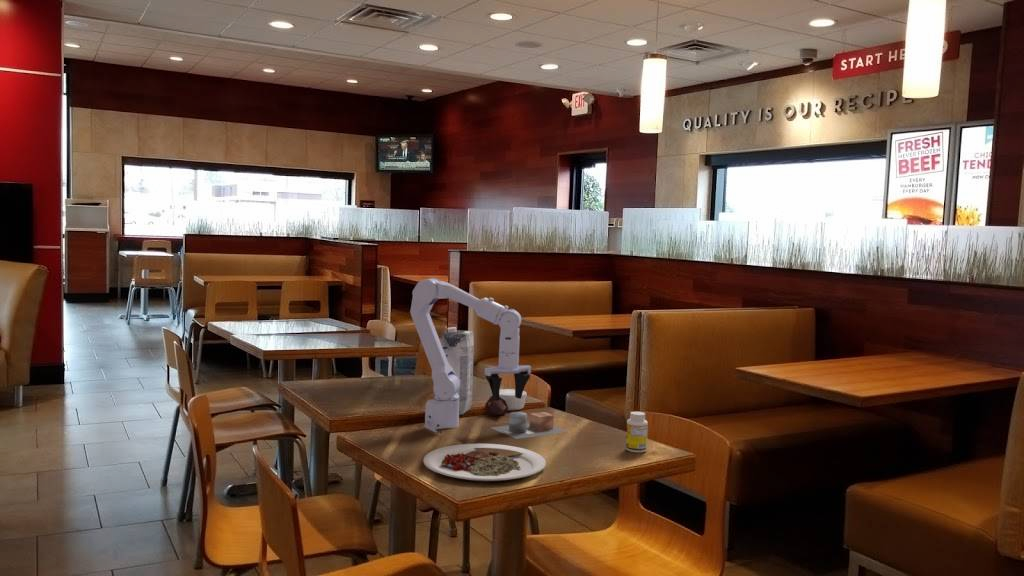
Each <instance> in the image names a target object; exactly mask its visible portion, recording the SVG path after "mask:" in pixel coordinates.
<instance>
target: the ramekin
mask: <svg viewBox="0 0 1024 576" xmlns="http://www.w3.org/2000/svg"><path fill="white" fill-rule="evenodd" d="M527 395H528V393H527V391H525V390H523V393H522V396H521V399H519V398H516V397H515V388H506V389H505V388H504V389H502V388H500V390H499V397H501V398H502V399H504V400H505V401H506V403H507V405H508V410H507V411H519V410H522V409H523V408H524V407H525V402H526V397H527Z"/></svg>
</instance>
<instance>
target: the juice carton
mask: <svg viewBox="0 0 1024 576" xmlns="http://www.w3.org/2000/svg"><path fill="white" fill-rule="evenodd" d="M440 343H441V345H442V348H443V350H444V353H445V356H446V358H447V361H448V363H449V364H450V365H451V367H452V368H453V370H454V372H455V374H456V375H457V376H458V377H459V378H460V380H461V387H460V389H459V391H458V392H457V393H458V395H459V397H460V398H459V416H461V415H465V413H466V412H468V411H470V410H471V406H472V402H473V401H472V400H473V386H474V385H473V381H474V380H473V377H474V351H475V350H474V346H475V343H474V331H472V330H463V329H462V330H460V329H457V327H456V326H451V327H447V331H446V332H442V333H441V341H440ZM469 409H470V410H469Z"/></svg>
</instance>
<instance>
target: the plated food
mask: <svg viewBox="0 0 1024 576" xmlns="http://www.w3.org/2000/svg"><path fill="white" fill-rule="evenodd" d="M479 448H481V449H483V448H484V449H498V450H499V449H500V450H507V451H510V452H511V451H513V452H517V453H519V454H511V455H505V454H503V455H502V454H500V453H499V452H498V451H497V450H490V451H489V454H488V453H485V452H483V451H481V450H479ZM422 462H423V464H424V466H425V467H426V468H427V469H429V470H430V471H433V472H434V473H437V474H440V475H443V476H447V477H451V478H456V479H461V480H466V481H476V482H499V481H509V480H516V479H521V478H526V477H528V476H533V475H536V474H538V473H540V472H541V471H543V470H544V469H545V468H546V466H547V462H546V459H545V458H544V456H542V455H541V454H539V453H538V452H535V451H533V450H530V449H526V448H524V447H519V446H512V445H508V444H499V443H498V444H496V443H462V444H454V445H453V444H452V445H448V446H443V447H439V448H437V449H433V450H432V451H430V452H428V453H427V454H426V455H424V457H423V461H422Z"/></svg>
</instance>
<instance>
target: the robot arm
mask: <svg viewBox="0 0 1024 576" xmlns="http://www.w3.org/2000/svg"><path fill="white" fill-rule="evenodd" d="M411 293H412V299H411V305H410V309H409V311H410V316H411V318H412V321H413V324H414V327H415V329H416V331H417V334H418V336H419V339H420V342H421V344H422V347H423V350H424V352H425V355H426V358H427V360H428V364H429V365H430V368H431V380H432V381H433V387H432V388H433V389H432V390H433V393H434V398H433V399H429V400H427V401H426V403H425V408H424V409H425V410H424V412H425V413H424V425H423V428H425V429H427V430H430V431H431V432H433V433H436V434H439V433H441V431H440V429H453V428H458V427H459V426H460V424H459V423H460V420H459V419H460V415H459V398H460V397H459V395H458V393H457V392H458V391H459V389H460V387H461V380H460V378H459V377H458V376H457V375H456V374H455V372H454V370H453V368H452V367H451V365H450V364H449V363H448V361H447V358H446V356H445V353H444V350H443V348H442V345H441V340H440V338H439V335H438V333H437V330H436V327H435V325H434V323H433V319H432V317H431V314H430V312H431V310H432V309H433V306H434V305H435V302H437V301H438V300H440V299H451V300H453V301H455V302H457V303H460V304H461V305H464V306H467V307H469V308H471V309H473V310H474V311H475V314H476V316H478V317H480V318H482V319H483V320H485V321H487V322H490V323H492V324H493V325H498V326H499V328H500V334H499V348H498V365H496V366H492V367H485V368H484V375H485V378H486V380H487V383H488V385H489V388H490V390H491V396H493V400H496V401H499V390H501V384H502V381H503V378H502V377H500V375H512V374H513V376H514V385H515V386H514V389H515V397H516V398H519V399H521V396H522V393H523V391H525V387H526V384H527V383H528V381H529V379H531V373H532V366H531V365H528V364H527V365H519V362H520V360H519V359H520V341H521V340H520V339H521V338H520V326H521V323H522V316H521V314H520V313H519V312H518V311H517V310H516V309H515V308H510V307H509V306H508V305H502V304H500V303H498V302H496V301H494V300H495V298H493V297H489V298H488V297H483V298H481V299H480V298H478V297H476V296H474V295H472V294H471V293H469V292H467V291H465V290H463V289H461V288H459V287H457V286H455V285H453V284H451V283H449V282H447V281H443V280H440V279H439V278H436V277H430V278H428V279H426V278H425V279H421V280H419V281H418V282H417V284H416V285H415V286H414V288H413V289H412V292H411ZM509 308H510V309H509Z"/></svg>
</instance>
